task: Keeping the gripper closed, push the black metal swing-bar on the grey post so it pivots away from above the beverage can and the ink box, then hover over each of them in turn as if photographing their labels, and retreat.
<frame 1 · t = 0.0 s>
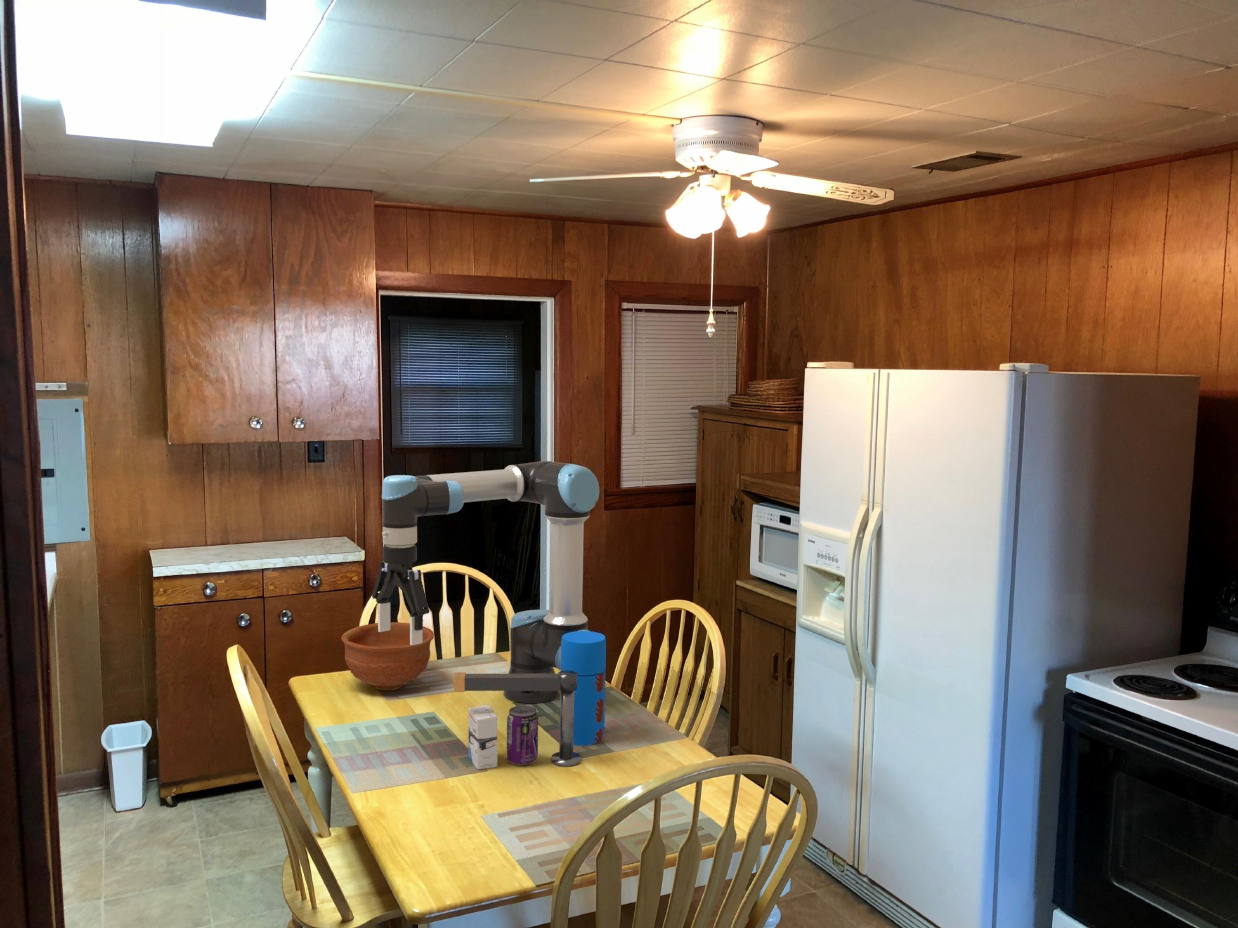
hand: (399, 637, 217), 28 cm above the table, fingers open, 13 cm apart
post: (566, 760, 220), on the table
bowl: (388, 686, 268), on the table
thermos: (581, 737, 234), on the table
beverage can: (522, 761, 219), on the table
swing bar: (516, 681, 217), point 19 cm above the table, hinge at -40.0°
ink box: (482, 762, 219), on the table
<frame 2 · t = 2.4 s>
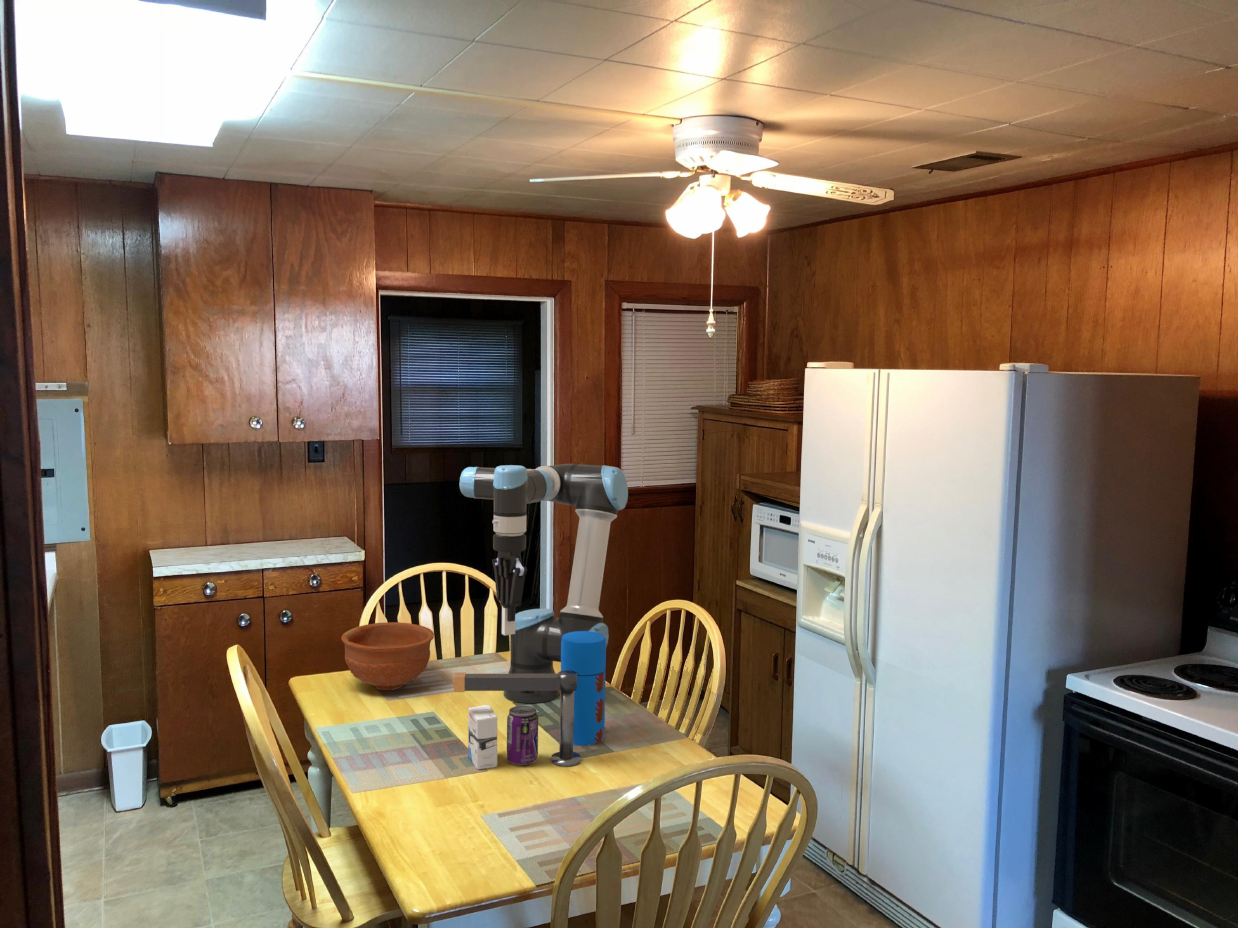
hand: (508, 633, 222), 28 cm above the table, fingers closed
nothing on the table moved.
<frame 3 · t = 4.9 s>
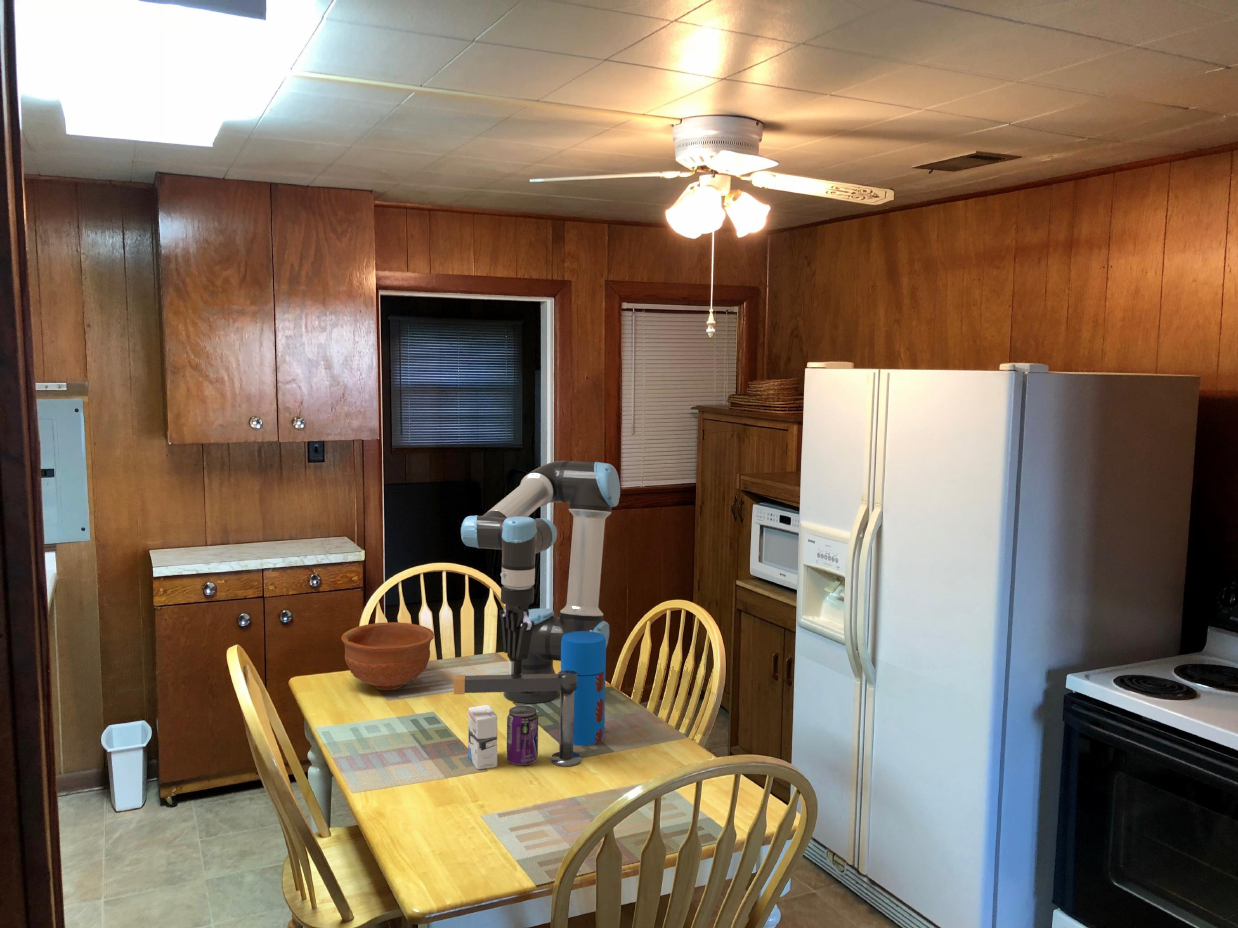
hand: (514, 686, 220), 17 cm above the table, fingers closed
swing bar: (516, 682, 217), point 19 cm above the table, hinge at -36.5°, touching gripper
everything else where it was.
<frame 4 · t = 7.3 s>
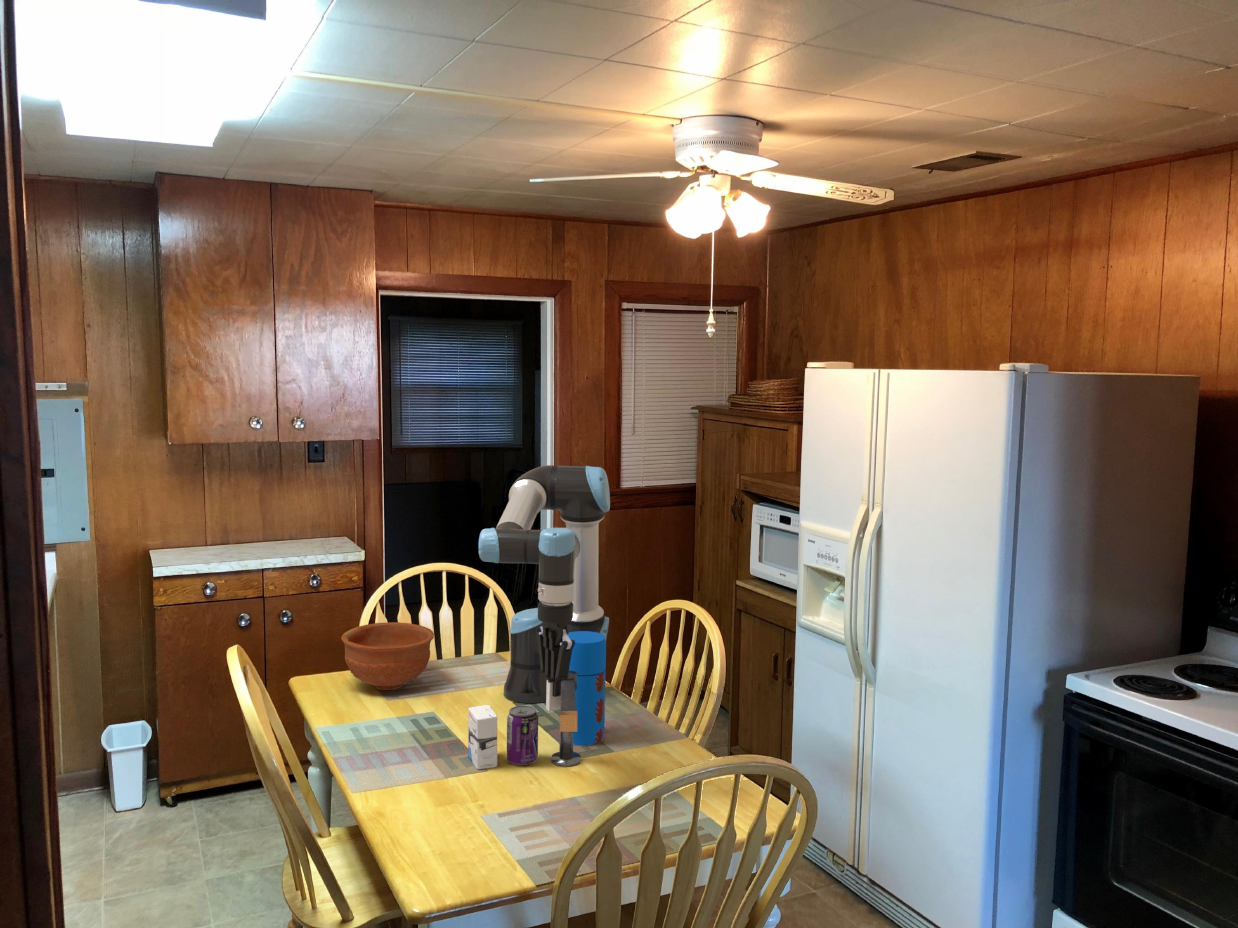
hand: (553, 709, 206), 17 cm above the table, fingers closed
swing bar: (568, 698, 207), point 19 cm above the table, hinge at 49.8°, touching gripper
everything else where it was.
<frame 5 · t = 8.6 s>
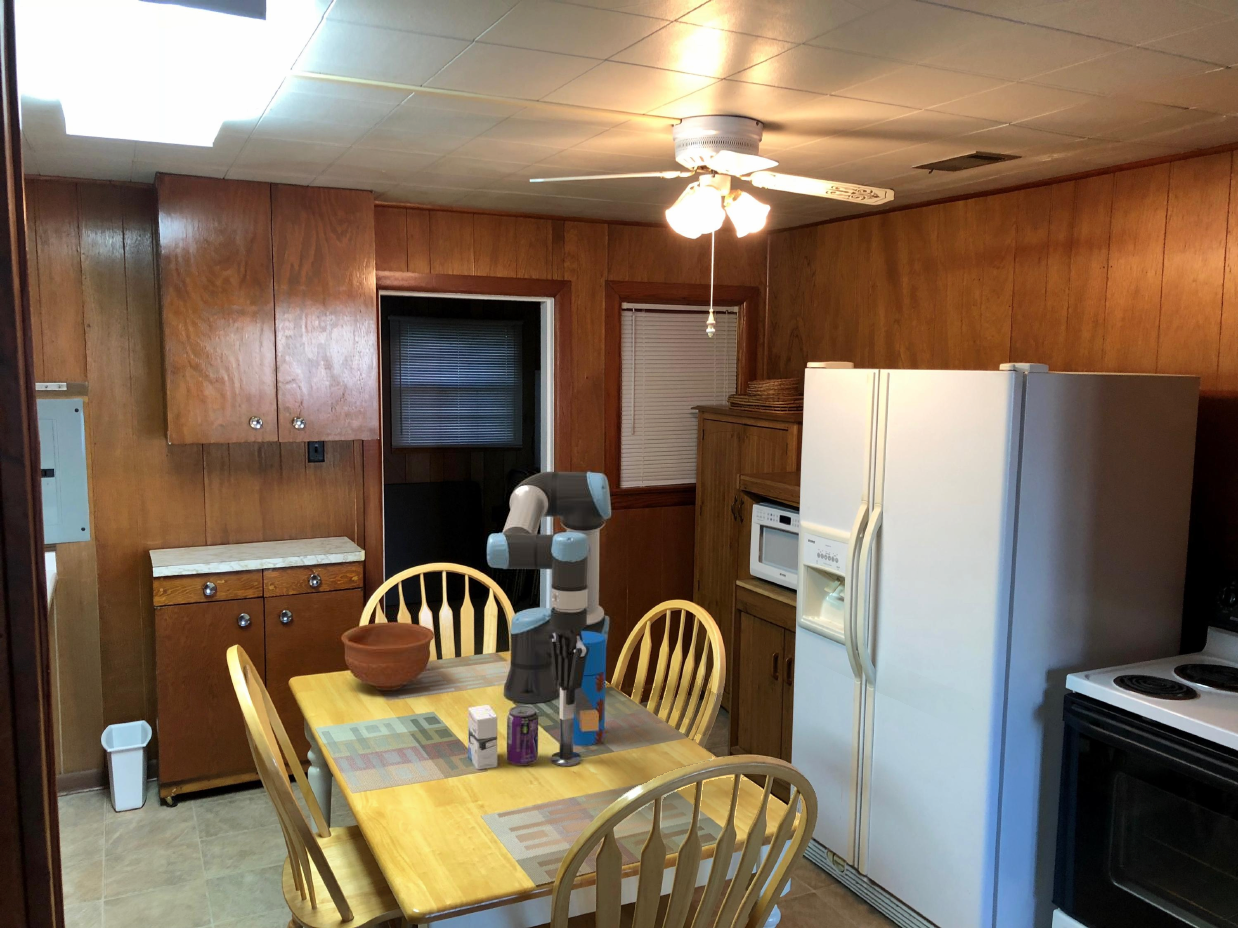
hand: (566, 717, 202), 16 cm above the table, fingers closed
swing bar: (577, 698, 207), point 19 cm above the table, hinge at 59.5°, touching gripper
everything else where it was.
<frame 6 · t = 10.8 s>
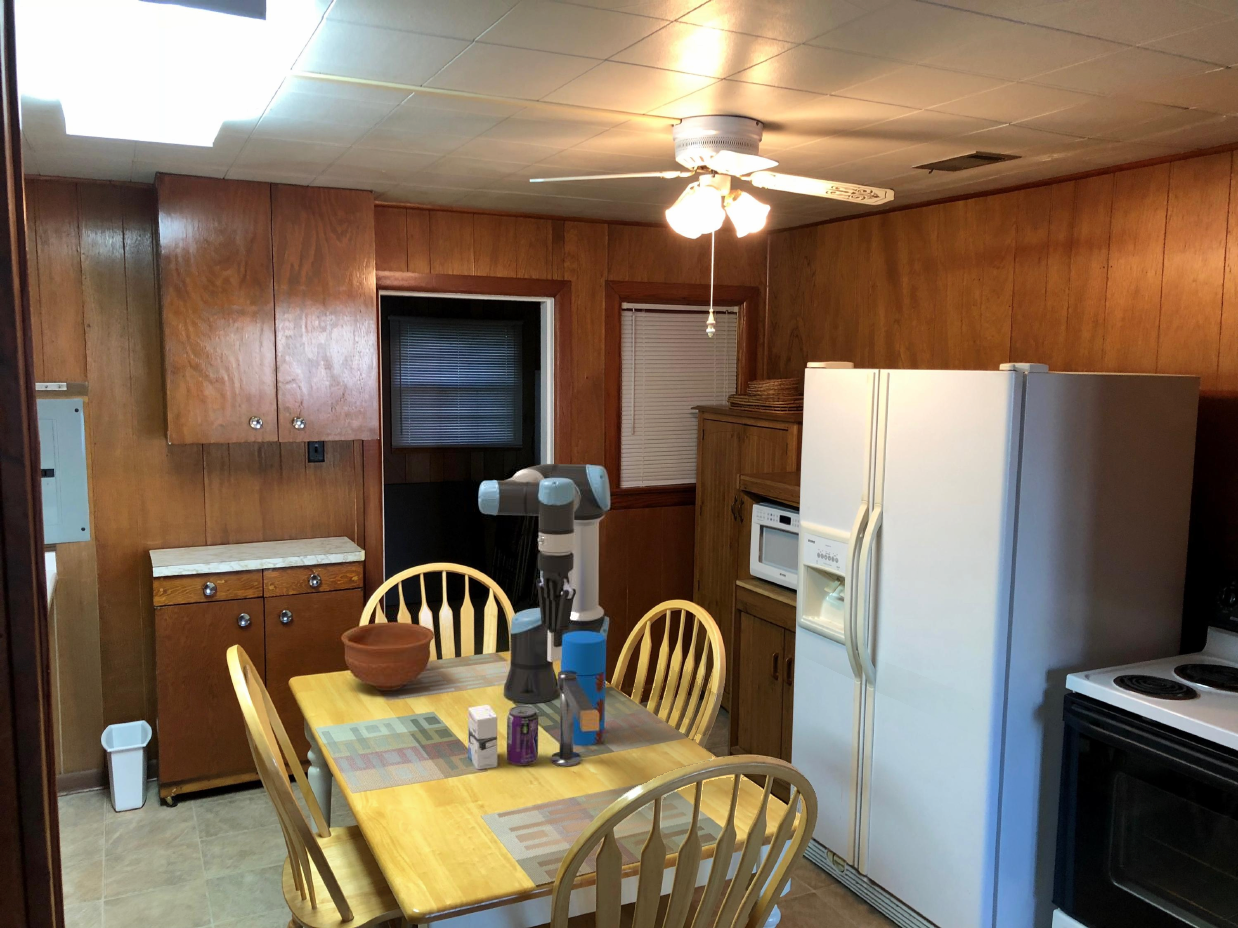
hand: (554, 659, 206), 27 cm above the table, fingers closed
swing bar: (577, 698, 207), point 19 cm above the table, hinge at 59.8°
everything else where it was.
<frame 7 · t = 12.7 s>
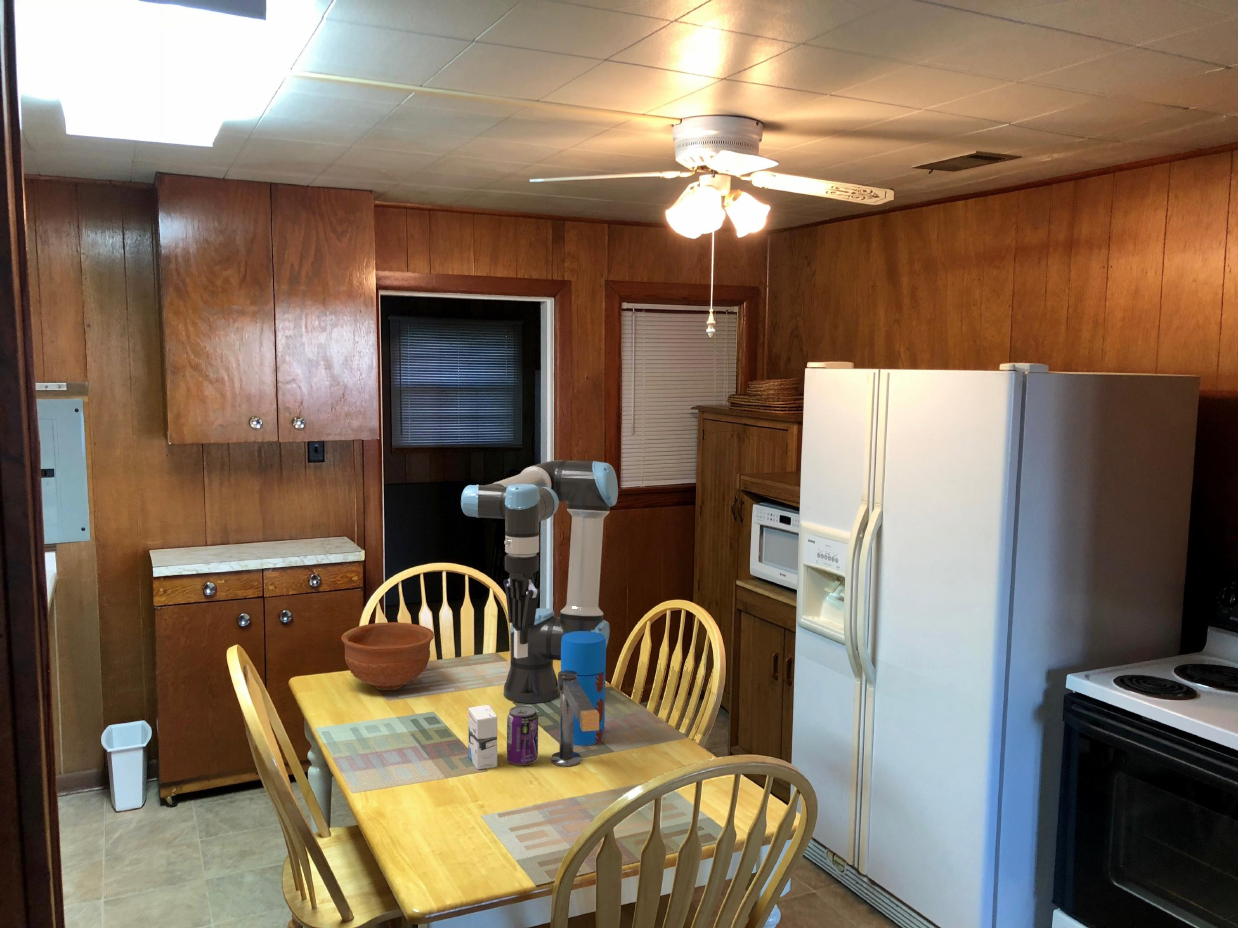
hand: (520, 656, 217), 24 cm above the table, fingers closed
nothing on the table moved.
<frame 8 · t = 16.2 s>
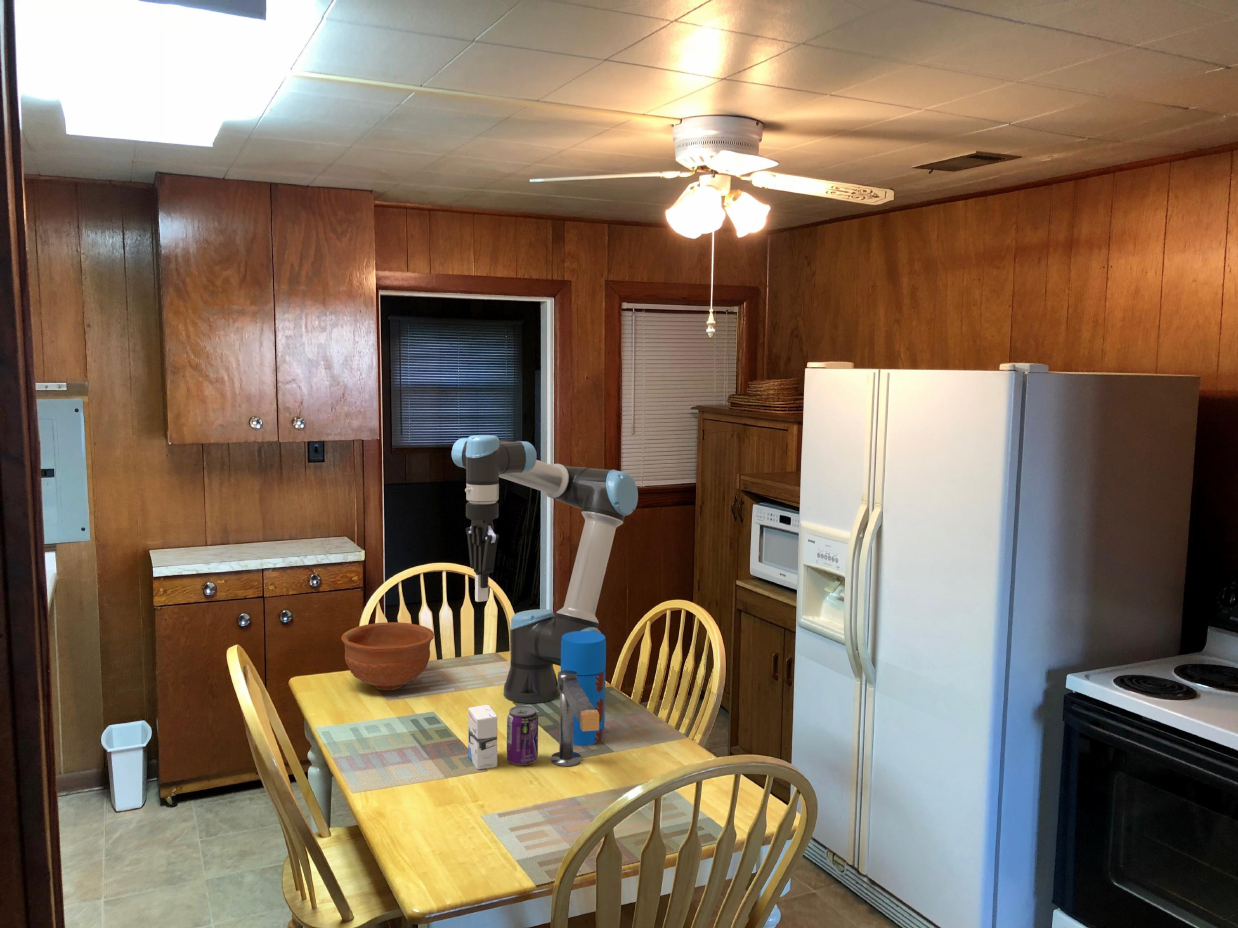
hand: (481, 600, 227), 34 cm above the table, fingers closed
nothing on the table moved.
at the end: swing bar at +60° (first picture: -40°); beverage can moved 0.2 cm from its start; ink box moved 0.3 cm from its start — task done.
